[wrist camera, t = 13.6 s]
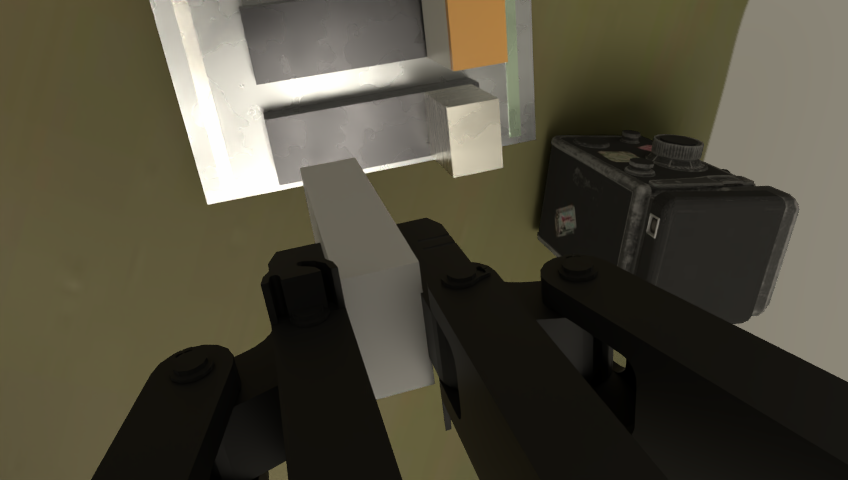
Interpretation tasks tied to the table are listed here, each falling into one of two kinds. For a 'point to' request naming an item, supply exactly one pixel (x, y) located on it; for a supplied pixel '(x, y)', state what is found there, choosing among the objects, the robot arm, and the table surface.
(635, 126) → the table surface
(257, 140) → the panel
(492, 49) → the block
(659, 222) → the camera
